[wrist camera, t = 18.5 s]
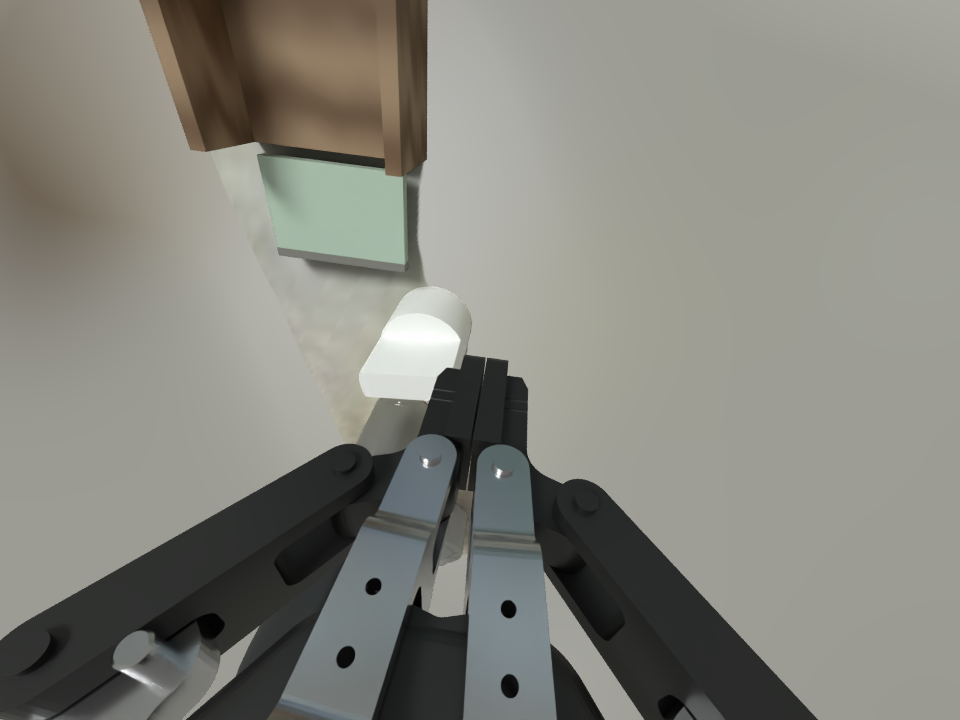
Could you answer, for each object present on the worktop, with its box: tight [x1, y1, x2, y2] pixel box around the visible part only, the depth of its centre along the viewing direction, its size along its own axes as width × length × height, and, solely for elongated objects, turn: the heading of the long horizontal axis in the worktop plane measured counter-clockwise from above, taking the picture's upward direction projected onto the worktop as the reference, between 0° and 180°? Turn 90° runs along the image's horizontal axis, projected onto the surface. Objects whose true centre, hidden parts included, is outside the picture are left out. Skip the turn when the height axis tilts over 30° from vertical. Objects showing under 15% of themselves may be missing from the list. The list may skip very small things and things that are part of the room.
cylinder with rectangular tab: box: [359, 286, 472, 401], centre depth 39 cm, size 9×9×12 cm
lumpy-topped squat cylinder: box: [439, 504, 468, 566], centre depth 66 cm, size 10×13×9 cm
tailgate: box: [257, 153, 408, 273], centre depth 35 cm, size 1×13×9 cm
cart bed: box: [140, 0, 427, 177], centre depth 25 cm, size 18×16×8 cm
